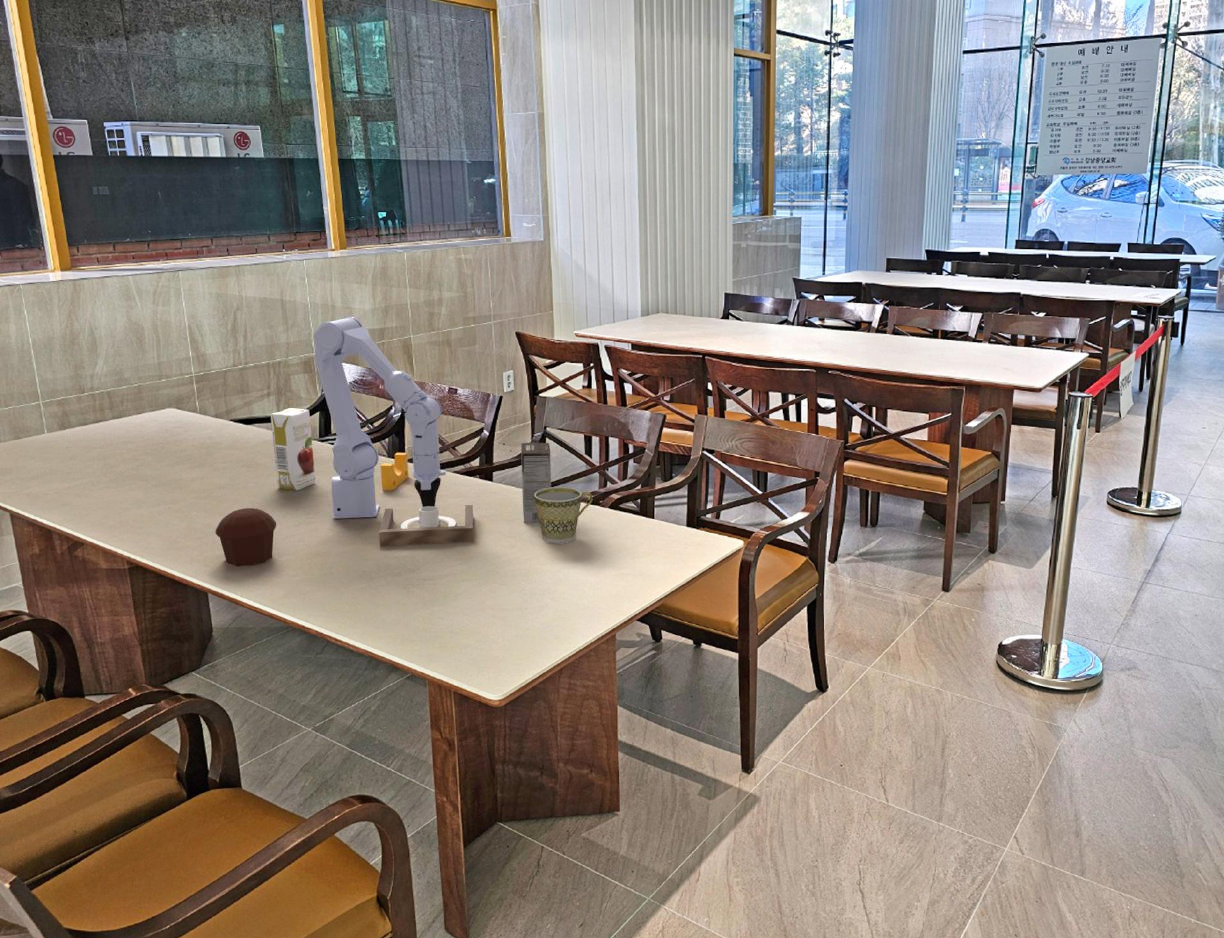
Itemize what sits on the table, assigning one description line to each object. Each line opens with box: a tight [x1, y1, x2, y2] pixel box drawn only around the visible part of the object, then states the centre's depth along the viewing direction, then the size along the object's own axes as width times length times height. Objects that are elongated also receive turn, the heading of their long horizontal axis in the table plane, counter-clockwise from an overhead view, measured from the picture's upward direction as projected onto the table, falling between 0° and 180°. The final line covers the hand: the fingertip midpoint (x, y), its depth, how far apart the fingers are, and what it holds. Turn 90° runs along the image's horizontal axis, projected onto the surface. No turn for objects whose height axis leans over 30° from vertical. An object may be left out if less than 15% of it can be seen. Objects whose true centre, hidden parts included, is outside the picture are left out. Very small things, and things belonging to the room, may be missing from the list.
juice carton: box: [270, 407, 316, 491], centre depth 243 cm, size 8×9×19 cm
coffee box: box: [520, 442, 552, 523], centre depth 220 cm, size 9×6×16 cm
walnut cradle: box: [378, 504, 474, 547], centre depth 212 cm, size 19×16×3 cm
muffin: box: [215, 507, 277, 567], centre depth 196 cm, size 12×11×10 cm
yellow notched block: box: [380, 452, 409, 491], centre depth 247 cm, size 12×4×6 cm, turn 173°
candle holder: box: [400, 506, 457, 529], centre depth 216 cm, size 12×12×4 cm
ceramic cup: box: [534, 486, 594, 545], centre depth 207 cm, size 13×10×10 cm
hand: (429, 511), depth 219 cm, fingers closed
